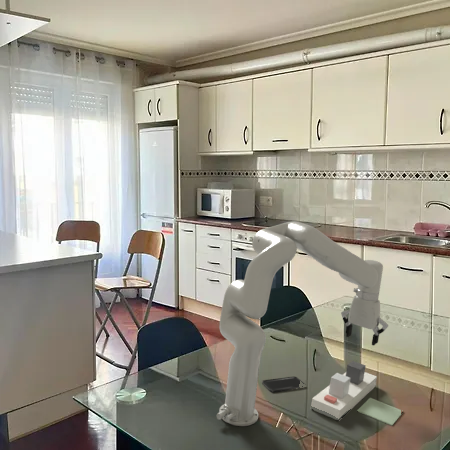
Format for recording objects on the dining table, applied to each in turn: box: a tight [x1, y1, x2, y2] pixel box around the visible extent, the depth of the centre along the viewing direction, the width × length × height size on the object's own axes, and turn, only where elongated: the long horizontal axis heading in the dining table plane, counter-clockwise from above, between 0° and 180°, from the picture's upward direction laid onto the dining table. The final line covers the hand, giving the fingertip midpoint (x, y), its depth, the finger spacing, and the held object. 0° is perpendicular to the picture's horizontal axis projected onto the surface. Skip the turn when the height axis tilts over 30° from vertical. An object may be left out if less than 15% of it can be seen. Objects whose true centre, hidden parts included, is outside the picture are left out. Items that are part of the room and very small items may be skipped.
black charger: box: [345, 360, 366, 385], centre depth 184 cm, size 5×5×8 cm
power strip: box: [310, 371, 378, 419], centre depth 179 cm, size 34×10×5 cm, turn 144°
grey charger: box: [329, 372, 350, 399], centre depth 173 cm, size 5×5×8 cm
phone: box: [261, 376, 305, 394], centre depth 184 cm, size 8×1×15 cm
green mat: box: [356, 397, 402, 426], centre depth 172 cm, size 12×12×1 cm
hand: (361, 340), depth 182 cm, fingers open, 9 cm apart
